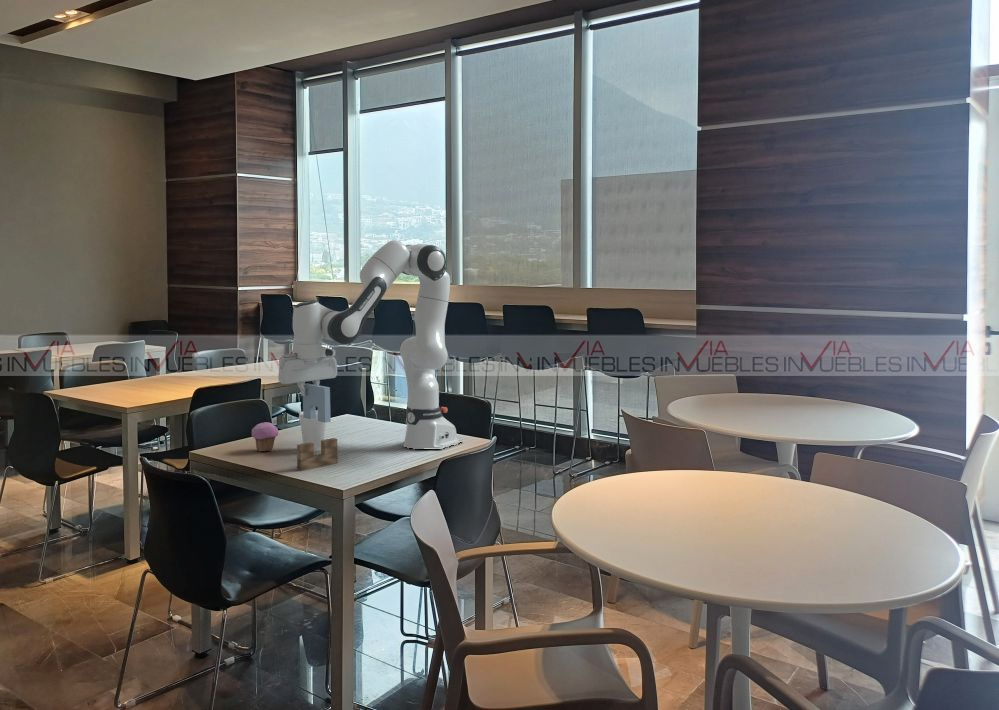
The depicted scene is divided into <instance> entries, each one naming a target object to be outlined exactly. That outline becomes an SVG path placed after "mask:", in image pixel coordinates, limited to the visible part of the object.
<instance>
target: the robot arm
mask: <svg viewBox="0 0 999 710" xmlns="http://www.w3.org/2000/svg"><path fill="white" fill-rule="evenodd" d="M446 270H447V257H446V254H445V252H444V250H443V249H441V247H439V246H437V245H433V244H423V243H417V244H407V245H405V244H403V243H402V242H401V241H399V240H390V241H388V242H386V243H385V244H383V245H382V246H381V247H380V248H378V249H377V251H376V252H374V254H372V255H371V257H370V258H369V259H368V260H367V261H366V262H365V264H364V265H363V266H362V268H361V270H360V272H359V280H360V283H361V284H362V286H363V288H362V291H361V292H360V293H359V295H358V296H357V297H356V298H355V300H354V301H353V303H352V304H351V305H350V307H348V308H347V309H345V310H342V311H337V310H333V309H331V308H328V307H326V306H324V305H322V304H321V303H319V301H317V300H308V301H307V300H306V301H302V302H299V303H296V304H295V306H294V308H293V311H292V331H293V335H294V336H293V343H292V347H293V349H292V351H293V353H288V354H287V353H285V354H282V355H281V356H280V357H279V360H278V366H279V367H278V374H277V375H278V376H277V378H278V382H279V383H280V384H282V385H291V384H296V385H297V387H298V388H299V390H300V395H301V396H302V397H303V396H306V395H308V390H305V388H304V386H303V385H305V384H306V382H312V383H311V384H314V385H320V383H321V380H327V379H328V380H329V379H335V378H336V377H337V376H338V363H337V359H336V357H335V356H336V350H335V349H333V348H330V347H326V346H323V345H322V344H323V339H325V340H328V341H332V342H333V341H334V342H336V343H338V344H342V345H349V344H352V343H354V342H355V341H356V340H357V339H358V338H359V336H360V335H361V332H362V329H363V326H364V324H365V322H366V320H367V319H368V317H369V316H370V315H371V313H372V312H373V311H374V309H375V308H376V307H377V305H378V304H379V303H380V301H381V300H382V298H383V296H384V295H385V293H386V292H387V290H388V289H389V288H390V287H391V285H393V284H394V282H395V281H396V280H397V278H398V277H399V276H400V275H401V274H404V275H406V276H413V277H418V280H419V289H418V292H417V298H416V304H415V308H414V315H413V321H414V324H415V336H412V337H409V338H406V339H405V340H403V341H402V342H401V345H400V347H399V348H400V349H399V353H400V355H399V356H400V358H401V359H402V362H403V368H404V373H405V374H404V375H405V378H406V385H407V406H406V421H407V423H406V430H405V437H404V441H403V447H404V448H405V447H407V448H406V449H409V448H414V449H413V450H415V449H424V448H442V447H445V446H447V445H450V444H453V443H456V442H459V441H458V440H459V439H457V437H458V436H457V429H456V426H455V425H454V424H453V423H452V422H450V421H449V420H447V419H446V418H445V417H444V415H443V413H445V414H446V413H447V412H448V410H449V409H448V407H446V406H445V407H444V406H441V407H440V406H439V405H440V404H439V403H440V399H439V398H440V391H439V390H440V389H439V382H438V380H437V379H436V378H437V376H436V373H435V370H436V371H437V370H439V369H442V368H443V367H444V366H445V365H446V363H447V361H448V357H449V356H448V355H449V353H448V350H447V347H446V340H445V339H446V337H445V336H446V334H445V333H446V332H445V326H446V325H445V324H446V319H447V318H446V317H447V312H448V305H449V301H450V293H451V292H450V291H451V277H450V274H449V273H448V272H447V271H446Z"/></svg>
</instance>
